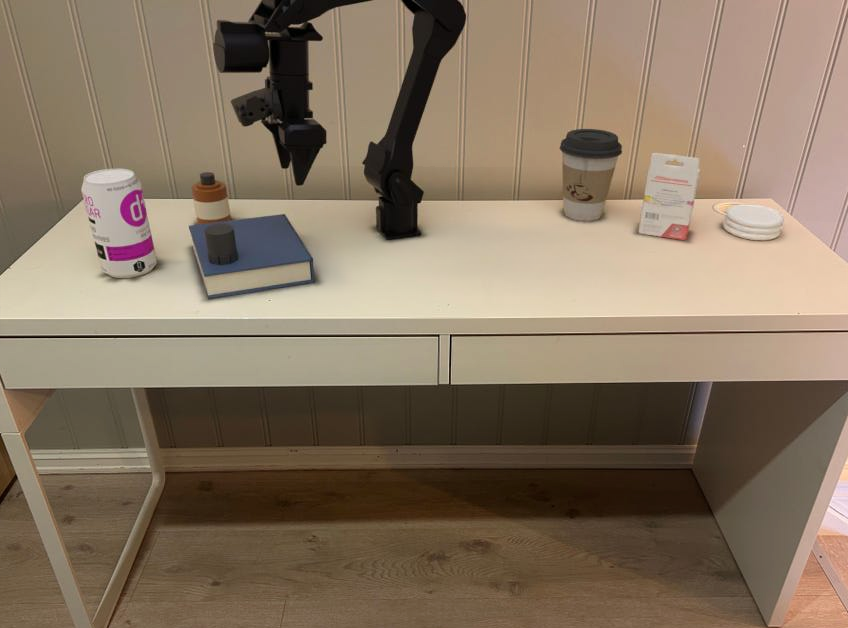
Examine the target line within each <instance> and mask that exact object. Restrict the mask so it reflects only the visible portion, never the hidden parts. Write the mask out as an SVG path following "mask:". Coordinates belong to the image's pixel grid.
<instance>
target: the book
mask: <svg viewBox="0 0 848 628" xmlns="http://www.w3.org/2000/svg"><path fill="white" fill-rule="evenodd" d="M215 224H228V225H231V226H233V227H234V233H235V240H236V247H237V251H238V258H239V259H238V260H237V261H235V262H233V263H231V264H226V265H216V264H211V263H210V262H209V258H208V252H207V251H208V250H207V244H206V238H205V233H204V230H205V228H206V227H208V226H211V225H215ZM188 229H189V233H190V237H191V243H192V245H191V248H192V251H193V254H194V258H195V261H196V264H197V267H198V270H199V274H200V278H201V280H202V284H203V286H204V289H205V290H204V291H205V293H206V297H207V299H208V300H212V299H217V298H223V297H224V298H226V297H230V296H236V295H243V294H244V295H245V294H249V293H257V292H262V291H268V290H275V289H282V288H287V287H294V286H300V285H307V284H313V283H316V278H315V267H314V265H315V264H314V258H313V256H312V255H311V253H310V251H309V250H308V249H307V247H306V245H305V244H304V242H303V240H302V239H301V237H300V235H299V234H298V232H297V231H296V229H295V228H294V225H292V223H291V222H290V220H289V218H288V216H287V215H286V213H281V214H273V215H272V214H271V215H264V216H257V217H256V216H255V217H248V218H240V219H239V218H238V219H232V220H231V221H223V222H215V223H207V224H199V225H198V224H192V225H188Z"/></svg>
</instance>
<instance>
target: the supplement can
mask: <svg viewBox="0 0 848 628" xmlns="http://www.w3.org/2000/svg"><path fill="white" fill-rule="evenodd" d="M80 189H81V194H82V199H83V203H84V206H85V210H86V213H87V217H88V222H89V225H90V229H91V233H92V237H93V241H94V245H95V249H96V253H97V257H98V261H99V265H100V269H101V271H102V272H103V273H105V274H107V275H108V276H110V277H113V278H115V279H132V278H137V277H140V276H142V275H146V274H148V273H150V272H151V271H152V270H153V269H154V267H155V266H156V265H157V264H158V259H157V254H156V250H155V246H154V245H155V244H154V241H153V235H152V230H151V226H150V221H149V217H148V212H147V207H146V201H145V198H144V197H145V196H144V193H143V192H144V191H143V187H142V183H141V180H140V179H139V178H138V177H137V176H136V175H135V172H134V171H133V170H130V169H127V168H105V169H99V170H95V171H92V172H89V173H87V174H85V175H84V176H83V182H82V185H81V188H80Z"/></svg>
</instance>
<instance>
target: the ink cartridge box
mask: <svg viewBox="0 0 848 628" xmlns="http://www.w3.org/2000/svg"><path fill="white" fill-rule="evenodd" d="M650 158H651V159H650V163H649V168H648V169H647V173H646V181H645V187H644V194H643V199H642V206H641V212H640V217H639V218H640V219H639V224H638V230H637V231H638V234H640V235H647V236H653V237H654V236H655V237H662V238H666V239H673V240H679V241H686V240H687V236H688V233H689V230H690V226H691V220H692V216H693V210H694V205H695V199H696V194H697V188H698V183H699V177H700V173H701V172H700V171H701V169H700V167H699V166H700V163H701V162H700V158H699V157H692V156H687V155H678V154H669V153H660V152H652V154H651V156H650ZM674 161H676V162H677V163H680V164H682V165H681V166H679V165H670V164H667V162H674Z"/></svg>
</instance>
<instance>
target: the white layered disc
mask: <svg viewBox="0 0 848 628" xmlns="http://www.w3.org/2000/svg"><path fill="white" fill-rule="evenodd" d="M784 222H785V217H784V215H783V214H782V213H781V212H779V211H778V210H776V209H774V208H771V207H769V206H764V205H758V204H751V203H749V204H748V203H742V204H740V203H739V204H735V205H731V206H730V207H728V208H726V211H725V216H724V220H723V225H722V226H723V228H724V230H725V231H726V232H728V233H729V234H731V235H732V236H735V237H738V238H741V239H745V240H750V241H771V240H774V239H776V238H778V237H780V235H781V233H782V229H783V223H784Z"/></svg>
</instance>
